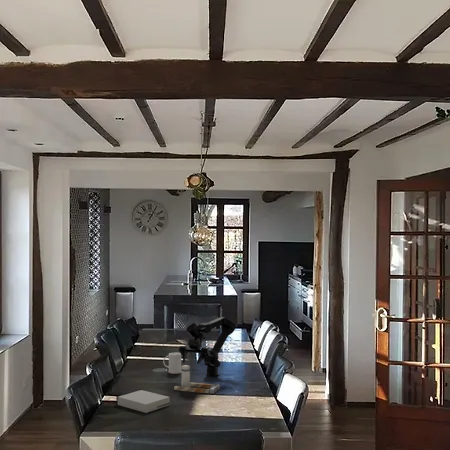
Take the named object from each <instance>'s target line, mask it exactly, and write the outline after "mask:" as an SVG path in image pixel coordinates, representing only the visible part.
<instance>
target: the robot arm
mask: <svg viewBox="0 0 450 450" xmlns="http://www.w3.org/2000/svg"><path fill="white" fill-rule="evenodd" d="M219 326H220V327H221V332H220V334H219V336H218V337H217V339H216V341H215V343H214V345H213V346H212V349H210V350H209V348H208V347H202V346H203V345H202V343H203V342H204V341H203V340H206V336H205V334H206V335H207V334H209V333H210V332H212V330H213V329H215V328H217V327H219ZM236 328H237V327H236V323H235V322H233V321H232V320H229V319H228V318H227V317H226V316H219V317H218V318H215V319H213V320H211V321H208V322H201V323H198V324H196V323H195V322H192V323H191V324H190V325H188V326H187V327H186V331H187V333H188V334H189V335H190V336H191V337H192V338H193V339H188V341H187V345H188V347H189V348H187V346H184V345H180V346H179V347H178V351H179V353H181V356H182V363H183V364H184V363H185V362H186V359H187V357H188V353H193V354H199V356H198V358H197V361H196V362H197V363H196V364H197V365H199V364H201V362H202V361H203V362H204V366H207V367H206V374H205V376H207V377H210V378H213V377H218V376H220V374H219V373H218V372H219V369H218V368H219V367H220V366H221V361H220V360H219V353H220V352H221V350H222V348H223V346H224V344H225V342H226V341H227V339H228V337H229V336H230V335H232V334H233V333H234V332H235V330H236Z"/></svg>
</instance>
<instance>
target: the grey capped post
mask: <svg viewBox="0 0 450 450" xmlns="http://www.w3.org/2000/svg"><path fill="white" fill-rule="evenodd" d="M181 371H182V372H181V382H182V386H181V387H191V386H190V383H191V382H190V381H191V366H190V365H189V364H187V365H186V364H184V365H181Z"/></svg>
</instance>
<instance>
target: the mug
mask: <svg viewBox="0 0 450 450" xmlns="http://www.w3.org/2000/svg"><path fill="white" fill-rule="evenodd" d="M167 358H168V365H166V364H165V360H166V359H167ZM162 361H163V365H164V367H165V368H168V372H167V373H169V374H172V375H174V374H182V354H181V353H180V352H169V353H168V355H166V356H165V357H164V358H163V360H162Z"/></svg>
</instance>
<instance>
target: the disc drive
mask: <svg viewBox="0 0 450 450" xmlns="http://www.w3.org/2000/svg"><path fill="white" fill-rule="evenodd" d="M115 398H116V400H115V401H116V406H121V407H125V408H127V409H131V410H135V411H138V412H142V413H146V414H148V413H149V412H153V411H156V410H158V409H161V408H164V407H168V406H170V396H167V395H163V394H159V393H155V392H150V391H147V390H144V389H143V390H142V389H141V388H140V389H136V390H133V391H129V392H126V393H123V394H120V395H116V397H115Z"/></svg>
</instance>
